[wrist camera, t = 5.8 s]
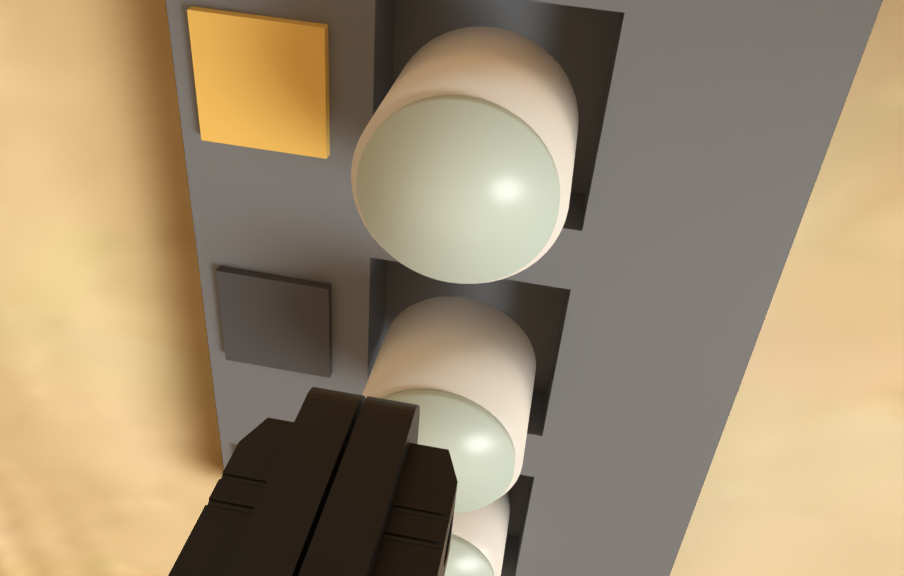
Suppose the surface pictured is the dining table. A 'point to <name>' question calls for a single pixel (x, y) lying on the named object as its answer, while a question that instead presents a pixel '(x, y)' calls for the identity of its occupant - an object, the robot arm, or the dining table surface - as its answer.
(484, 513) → the button
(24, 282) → the dining table surface
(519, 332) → the button
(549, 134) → the button
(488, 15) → the button board
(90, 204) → the dining table surface
